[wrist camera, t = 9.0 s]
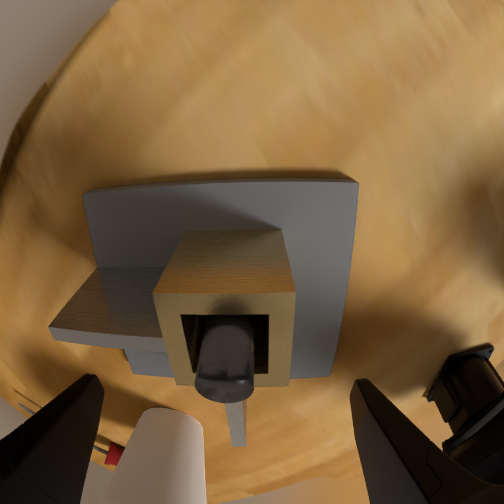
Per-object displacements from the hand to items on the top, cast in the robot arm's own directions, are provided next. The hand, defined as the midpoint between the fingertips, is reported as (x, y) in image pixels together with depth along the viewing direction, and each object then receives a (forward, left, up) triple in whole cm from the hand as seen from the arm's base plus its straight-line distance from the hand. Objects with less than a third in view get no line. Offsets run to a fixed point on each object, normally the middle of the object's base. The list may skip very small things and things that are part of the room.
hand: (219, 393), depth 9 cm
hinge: (+3, +3, -8) cm, 9 cm away
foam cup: (+7, +18, -10) cm, 22 cm away
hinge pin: (0, 0, -8) cm, 8 cm away
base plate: (+1, +2, -9) cm, 10 cm away
